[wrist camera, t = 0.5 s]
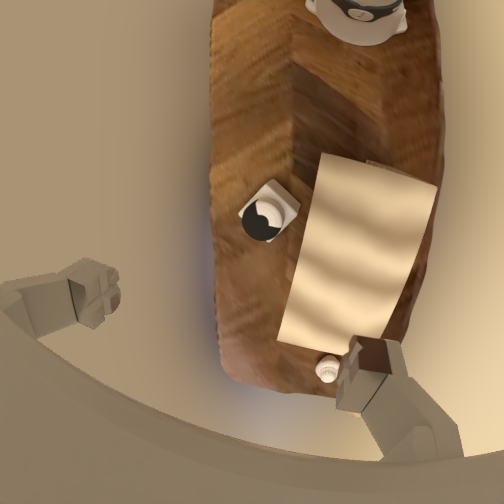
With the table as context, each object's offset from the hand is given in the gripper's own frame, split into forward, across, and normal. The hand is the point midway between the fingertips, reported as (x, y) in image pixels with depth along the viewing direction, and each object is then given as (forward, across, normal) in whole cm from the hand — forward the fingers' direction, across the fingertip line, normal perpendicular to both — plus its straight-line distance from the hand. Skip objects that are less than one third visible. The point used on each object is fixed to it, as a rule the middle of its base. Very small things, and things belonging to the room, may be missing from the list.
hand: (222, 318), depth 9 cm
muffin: (+44, -15, +40) cm, 62 cm away
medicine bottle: (+44, +5, +7) cm, 45 cm away
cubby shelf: (+44, -8, +7) cm, 45 cm away
